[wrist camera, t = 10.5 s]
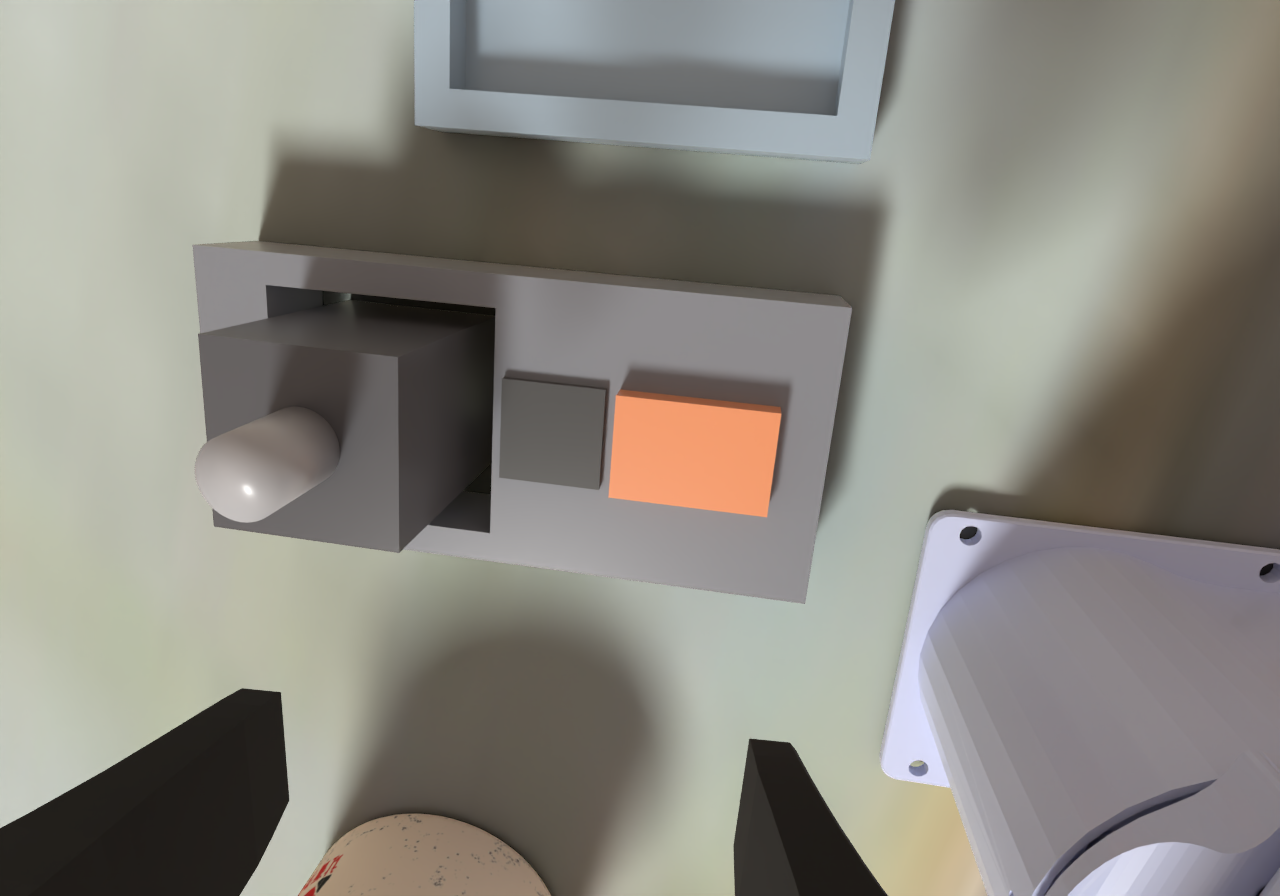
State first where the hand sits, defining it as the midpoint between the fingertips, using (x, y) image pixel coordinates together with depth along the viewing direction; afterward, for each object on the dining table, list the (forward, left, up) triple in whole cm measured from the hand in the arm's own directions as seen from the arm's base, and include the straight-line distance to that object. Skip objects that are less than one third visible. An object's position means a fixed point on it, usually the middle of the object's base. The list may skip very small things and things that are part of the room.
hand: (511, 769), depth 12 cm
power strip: (+3, -3, -10) cm, 11 cm away
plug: (+6, -3, -10) cm, 12 cm away
